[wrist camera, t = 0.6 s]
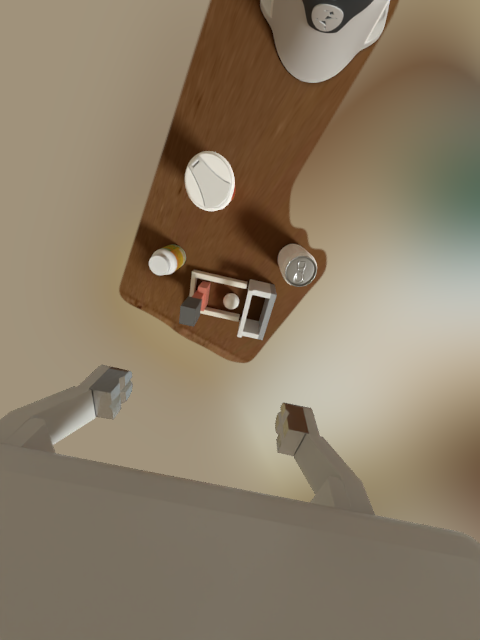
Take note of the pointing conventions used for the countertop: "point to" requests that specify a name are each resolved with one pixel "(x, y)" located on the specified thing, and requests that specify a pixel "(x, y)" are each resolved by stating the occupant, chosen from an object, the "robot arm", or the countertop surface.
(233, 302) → the ball
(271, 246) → the countertop surface
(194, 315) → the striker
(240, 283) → the white flat open frame
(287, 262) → the can
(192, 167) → the paper cup
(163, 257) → the supplement bottle
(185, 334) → the countertop surface
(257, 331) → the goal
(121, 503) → the robot arm
